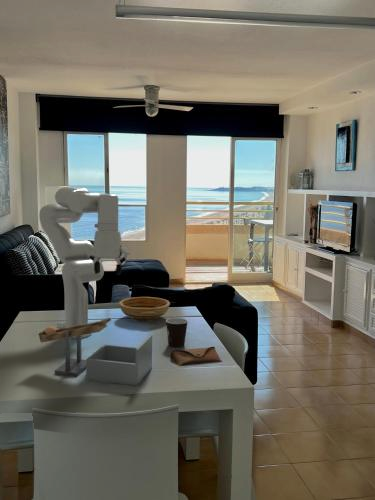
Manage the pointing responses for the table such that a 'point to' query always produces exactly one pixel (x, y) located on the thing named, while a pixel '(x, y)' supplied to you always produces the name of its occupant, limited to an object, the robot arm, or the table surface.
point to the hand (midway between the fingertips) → (108, 273)
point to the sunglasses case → (195, 356)
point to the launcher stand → (72, 365)
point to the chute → (75, 330)
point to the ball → (50, 330)
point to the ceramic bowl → (144, 308)
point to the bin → (120, 363)
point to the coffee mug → (176, 332)
